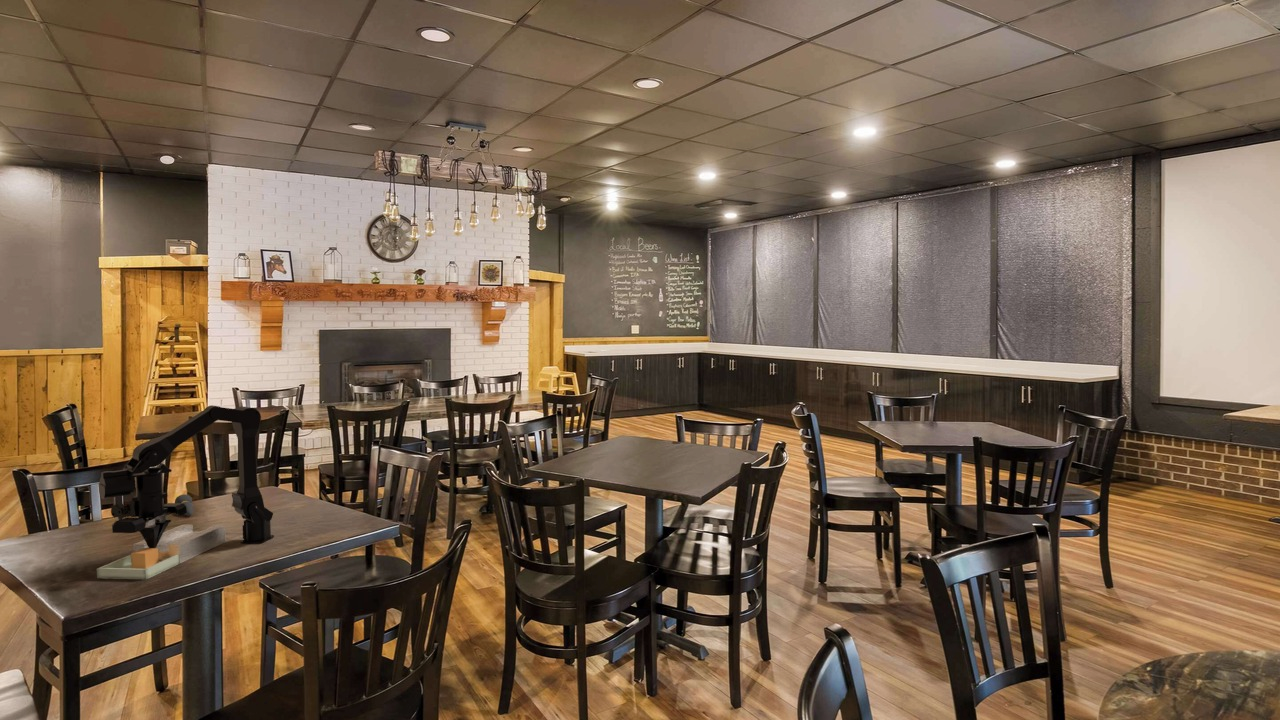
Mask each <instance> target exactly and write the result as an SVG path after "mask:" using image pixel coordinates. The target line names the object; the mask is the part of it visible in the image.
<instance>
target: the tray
mask: <svg viewBox="0 0 1280 720" xmlns="http://www.w3.org/2000/svg"><path fill="white" fill-rule="evenodd" d="M179 564H180V563H179V557H178V555H175V556H172V557H170V558H168V559H166V560H164V561H159V563H157V564H155V565H152V566H150V567H148V568H146V569H141V568H132V558H131V554H129V555H126V556H123V557H121V558H119V559H117V560H114V561H112V562H110V563H109V562H108V563H107V564H105V565H103V566H99V567H97V568H96V578H97V579H105V580H106V579H107V580H108V579H111V580H114V579H115V580H117V579H118V580H148V579H150V578H152V577H154V576H157V575H158V574H161V573H162V572H165V571H167V570H169V569H171V568H173V567H175V566H178V565H179Z"/></svg>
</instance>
